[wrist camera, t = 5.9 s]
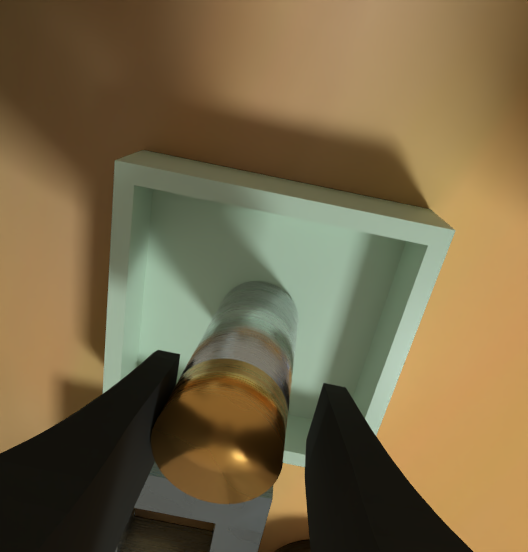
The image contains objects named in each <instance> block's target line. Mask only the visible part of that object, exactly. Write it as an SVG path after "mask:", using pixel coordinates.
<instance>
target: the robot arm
mask: <svg viewBox="0 0 528 552" xmlns="http://www.w3.org/2000/svg"><path fill="white" fill-rule="evenodd" d="M179 360H180V354H177V353H172V352H167V351H162V350H157V351H155V352H153V353H152V354H151V355H150V356H149V357H148V358H147V359H146V360H144V361H143V362H142V363H141V364H140V365H139V366H137V367H136V368H135V369H134V370H133V371H131V372H130V373H129V374H128V375H127V376H125V377H124V378H123V379H121V380H120V381H119V382H118V383H116V384H115V385H114V386H112V387H111V388H110V389H109V390H107V391H106V392H105V393H103V394H102V395H100V396H99V397H98V398H96V399H95V400H93V401H92V402H90V403H89V404H87V405H86V406H85V407H83V408H82V409H80V410H79V411H77V412H76V413H74V414H73V415H71V416H69V417H68V418H66V419H65V420H63V421H61V422H60V423H58V424H56V425H55V426H53V427H51V428H49V429H48V430H46V431H44V432H42V433H41V434H39V435H37V436H35V437H33V438H31V439H29V440H27V441H25V442H23V443H21V444H19V445H17V446H15V447H13V448H11V449H9V450H7V451H5V452H3V453H1V454H0V552H115V551H116V548H117V546H118V543H119V541H120V538H121V536H122V533H123V531H124V528H125V526H126V524H127V522H128V520H129V517H130V515H131V513H132V511H133V509H134V506H135V504H136V502H137V500H138V498H139V495H140V493H141V491H142V489H143V487H144V485H145V482H146V480H147V478H148V476H149V474H150V471H151V469H152V467H153V465H154V463H155V460H154V457H153V454H152V449H151V434H152V430H153V427H154V424H155V422H156V420H157V418H158V417H159V415H160V413H161V411H162V409H163V408H164V406H165V404H166V402H167V400H168V399H169V397H170V395H171V393H172V391H173V389H174V388H175V386H176V382H177V375H178V367H179ZM305 487H306V500H307V513H308V525H309V537H310V550H311V552H473V551H472V550H471V549H470V548H469V547H468V546H467V545H466V544H465V543H464V542H463V541H462V540H461V539H460V538H459V537H458V536H457V535H456V534H455V533H454V532H453V531H452V530H451V529H450V528H449V527H448V526H447V525H446V524H445V523H444V522H443V520H442V519H441V518H440V517H439V516H438V515H437V514H436V513H435V512H434V511H433V509H432V508H431V507H430V506H429V505H428V504H427V503H426V501H425V500H424V499H423V498H422V497H421V496H420V495H419V493H418V492H417V491H416V490H415V489H414V487H413V486H412V485H411V484H410V483H409V481H408V480H407V479H406V477H405V476H404V475H403V473H402V472H401V471H400V469H399V468H398V467H397V465H396V464H395V463H394V462H393V460H392V459H391V457H390V456H389V455H388V453H387V452H386V450H385V449H384V447H383V446H382V444H381V443H380V441H379V440H378V438H377V437H376V435H375V434H374V432H373V431H372V429H371V428H370V426H369V424H368V423H367V421H366V420H365V418H364V416H363V415H362V413H361V412H360V410H359V408H358V407H357V405H356V403H355V402H354V400H353V398H352V397H351V395H350V393H349V392H348V390H347V389H346V387H342V386H337V385H332V384H327V383H323V386H322V389H321V393H320V396H319V399H318V403H317V406H316V409H315V413H314V416H313V419H312V422H311V426H310V429H309V432H308V436H307V439H306V454H305Z"/></svg>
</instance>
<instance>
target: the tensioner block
mask: <svg viewBox="0 0 528 552" xmlns="http://www.w3.org/2000/svg"><path fill="white" fill-rule="evenodd" d="M272 496H273V485H272V486H271V488H270V489H269V490H267V491H266V492H265V493H264V494H262V495H260V496H259V497H257V498H254V499H252V500H250V501H246V502H242V503H236V504H217V503H210V502H206V501H202V500H199V499H197V498H194V497H192V496H190V495H188V494H186V493H184V492H183V491H181V490H179V489H178V488H177V487H175V486H174V485H173V484H172V483H171V482H170V481H169V480H168V479H167V478H166V477H165V476H164V475H163V474H162V472H161V471H160V469H159V468H158V466H157V464H156V462H155V463H154V465H153V467H152V469H151V471H150V474H149V476H148V478H147V480H146V482H145V485H144V487H143V489H142V491H141V493H140V495H139V498H138V500H137V502H136V504H135V506H134V509H133V511H132V513H131V515H130V517H129V520H128V522H127V524H126V526H125V528H124V531H123V533H122V536H121V538H120V541H119V543H118V546H117V548H116V551H115V552H258V548H259V545H260V541H261V538H262V534H263V531H264V527H265V523H266V520H267V516H268V513H269V509H270V506H271V502H272ZM135 508H138V509H143V510H148V511H153V512H159V513H164V514H169V515H174V516H179V517H184V518H189V519H195V520H200V521H205V522H210V523H214V527H213V532H212V531H207V530H202V529H197V528H191V527H186V526H181V525H176V524H171V523H166V522H161V521H155V520H150V519H145V518H140V517H135ZM276 552H311V550H310V540H305V541H299V542H295V543H292V544H289V545H286V546H284V547H282V548H280V549H279V550H277V551H276Z"/></svg>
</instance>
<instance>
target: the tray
mask: <svg viewBox="0 0 528 552" xmlns="http://www.w3.org/2000/svg"><path fill="white" fill-rule="evenodd" d="M454 233H455V230H454V229H453V228H452V227H451V226H450V225H448V224H447V223H446V222H445V221H444V220H443V219H441V218H440V217H439V216H438V215H437V214H435V213H434V212H433V211H432V210H431V209H427V208H422V207H417V206H412V205H408V204H403V203H398V202H393V201H388V200H383V199H379V198H374V197H369V196H364V195H359V194H354V193H350V192H345V191H340V190H335V189H330V188H325V187H321V186H316V185H311V184H306V183H301V182H296V181H292V180H287V179H282V178H277V177H272V176H267V175H263V174H258V173H253V172H248V171H243V170H238V169H234V168H229V167H224V166H219V165H214V164H209V163H205V162H200V161H195V160H190V159H185V158H180V157H176V156H171V155H166V154H161V153H156V152H151V151H147V150H141V151H139V152H136V153H133V154H130V155H128V156H125V157H122V158H119V159H117V160H115V168H114V187H113V206H112V225H111V244H110V263H109V282H108V301H107V320H106V339H105V359H104V378H103V393H105V392H106V391H107V390H109V389H110V388H111V387H112V386H114V385H115V384H116V383H118V382H119V381H120V380H121V379H123V378H124V377H125V376H127V375H128V374H129V373H130V372H131V371H133V370H134V369H135V368H136V367H137V366H139V365H140V364H141V363H142V362H143V361H144V360H146V359H147V358H148V357H149V356H150V355H151V354H152V353H153V352H155V351H157V350H162V351H167V352H172V353H177V354H180V360H179V367H178V375H177V382H178V380H179V379H180V377H181V375H182V373H183V371H184V369H185V368H186V366H187V364H188V362H189V360H190V359H191V357H192V355H193V353H194V351H195V350H196V348H197V346H198V344H199V342H200V340H201V339H202V337H203V335H204V333H205V331H206V330H207V328H208V326H209V324H210V322H211V320H212V319H213V317H214V315H215V313H216V311H217V310H218V308H219V306H220V304H221V302H222V301H223V299H224V297H225V296H226V294H227V293H228V292H229V291H230V290H232V289H233V288H234V287H236V286H238V285H240V284H242V283H245V282H250V281H262V282H267V283H271V284H273V285H275V286H277V287H279V288H281V289H282V290H284V291H285V292H286V293H287V294H288V295H289V296H290V298H291V299H292V300H293V302H294V304H295V306H296V309H297V312H298V329H297V338H296V347H295V356H294V365H293V374H292V383H291V392H290V401H289V410H288V419H287V428H286V437H285V446H284V455H283V463H287V464H292V465H297V466H302V467H305V454H306V439H307V436H308V432H309V429H310V426H311V422H312V419H313V416H314V413H315V409H316V406H317V403H318V399H319V396H320V393H321V389H322V386H323V383H327V384H332V385H337V386H342V387H346V389H347V390H348V392H349V393H350V395H351V397H352V398H353V400H354V402H355V403H356V405H357V407H358V408H359V410H360V412H361V413H362V415H363V416H364V418H365V420H366V421H367V423H368V424H369V426H370V428H371V429H372V431H373V432H374V434H375V435H377V432H378V430H379V427H380V424H381V422H382V419H383V417H384V414H385V412H386V409H387V406H388V404H389V401H390V399H391V396H392V393H393V391H394V388H395V386H396V383H397V380H398V378H399V375H400V373H401V370H402V368H403V365H404V362H405V360H406V357H407V355H408V352H409V349H410V347H411V344H412V342H413V339H414V336H415V334H416V331H417V329H418V326H419V323H420V321H421V318H422V316H423V313H424V311H425V308H426V305H427V303H428V300H429V298H430V295H431V292H432V290H433V287H434V285H435V282H436V279H437V277H438V274H439V272H440V269H441V267H442V264H443V261H444V259H445V256H446V254H447V251H448V248H449V246H450V243H451V241H452V238H453V235H454ZM177 382H176V384H177Z"/></svg>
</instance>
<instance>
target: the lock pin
mask: <svg viewBox="0 0 528 552" xmlns="http://www.w3.org/2000/svg"><path fill="white" fill-rule="evenodd" d="M297 329H298V312H297V309H296V306H295V304H294V302H293V300H292V299H291V298H290V296H289V295H288V294H287V293H286V292H285V291H284V290H282V289H281V288H279V287H277V286H275V285H273V284H271V283H267V282H262V281H250V282H245V283H242V284H240V285H238V286H236V287H234V288H233V289H232V290H230V291H229V292H228V293H227V294H226V296H225V297H224V299H223V301H222V302H221V304H220V306H219V308H218V310H217V311H216V313H215V315H214V317H213V319H212V320H211V322H210V324H209V326H208V328H207V330H206V331H205V333H204V335H203V337H202V339H201V340H200V342H199V344H198V346H197V348H196V350H195V351H194V353H193V355H192V357H191V359H190V360H189V362H188V364H187V366H186V368H185V369H184V371H183V373H182V375H181V377H180V379H179V380H178V382H177V384H176V386H175V388H174V389H173V391H172V393H171V395H170V397H169V399H168V400H167V402H166V404H165V406H164V408H163V409H162V411H161V413H160V415H159V417H158V418H157V420H156V422H155V424H154V427H153V430H152V434H151V449H152V454H153V457H154V460H155V462H156V464H157V466H158V468H159V469H160V471H161V472H162V474H163V475H164V476H165V477H166V478H167V479H168V480H169V481H170V482H171V483H172V484H173V485H174V486H175V487H177V488H178V489H179V490H181V491H183V492H184V493H186V494H188V495H190V496H192V497H194V498H197V499H199V500H202V501H206V502H210V503H217V504H236V503H242V502H246V501H250V500H252V499H254V498H257V497H259V496H260V495H262V494H264V493H265V492H266V491H267V490H269V489H270V488H271V486H272V485H273V484H274V483H275V481H276V480H277V479H278V476H279V474H280V472H281V469H282V464H283V455H284V446H285V437H286V428H287V419H288V410H289V401H290V392H291V383H292V374H293V365H294V356H295V347H296V338H297Z"/></svg>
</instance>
